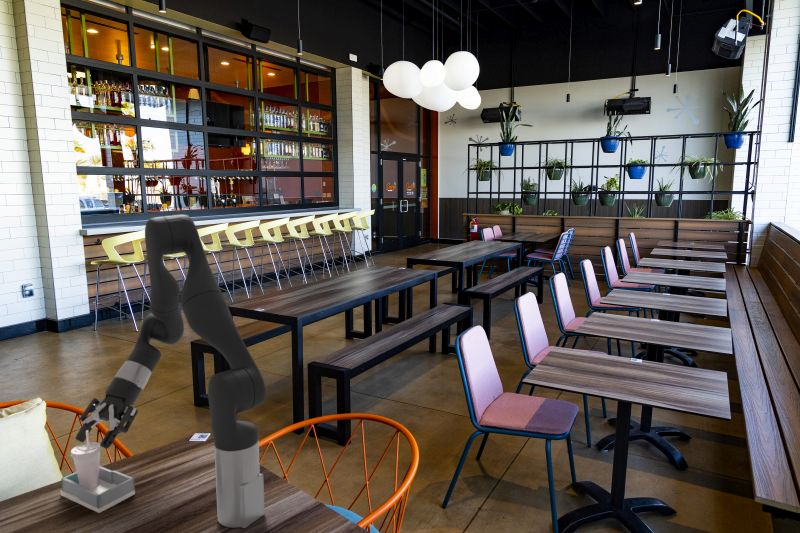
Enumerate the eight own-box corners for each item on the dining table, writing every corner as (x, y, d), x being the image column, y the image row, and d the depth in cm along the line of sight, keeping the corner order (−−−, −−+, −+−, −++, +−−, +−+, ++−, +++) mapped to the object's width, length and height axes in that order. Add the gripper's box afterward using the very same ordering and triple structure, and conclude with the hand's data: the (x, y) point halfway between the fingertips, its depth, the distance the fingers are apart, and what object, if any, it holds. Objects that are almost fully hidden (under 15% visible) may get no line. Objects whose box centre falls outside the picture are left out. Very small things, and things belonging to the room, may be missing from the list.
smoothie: (94, 493, 125) (90, 436, 123) (67, 493, 125) (62, 436, 123) (110, 479, 132) (105, 425, 130) (84, 479, 132) (79, 424, 130)
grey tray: (135, 493, 127) (134, 478, 126) (99, 513, 119) (97, 496, 119) (97, 478, 134) (96, 463, 133) (60, 495, 126) (59, 479, 126)
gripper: (99, 372, 137) (59, 432, 128) (139, 379, 131) (101, 443, 123) (119, 385, 143) (82, 444, 134) (158, 393, 137) (122, 455, 128)
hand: (91, 444), depth 128 cm, fingers open, 8 cm apart
